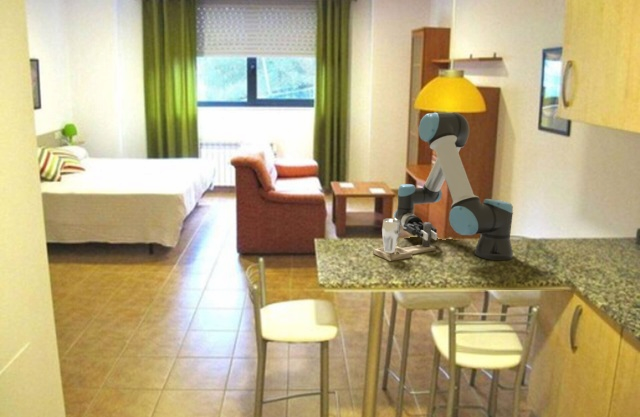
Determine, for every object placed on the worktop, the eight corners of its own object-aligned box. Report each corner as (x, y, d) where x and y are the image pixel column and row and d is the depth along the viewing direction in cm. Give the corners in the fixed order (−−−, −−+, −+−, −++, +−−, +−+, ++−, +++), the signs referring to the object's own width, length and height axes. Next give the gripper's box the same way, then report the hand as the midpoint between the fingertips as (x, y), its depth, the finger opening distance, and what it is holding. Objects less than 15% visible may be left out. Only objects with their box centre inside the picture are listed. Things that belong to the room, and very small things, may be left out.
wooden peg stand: (440, 252, 250) (442, 225, 248) (389, 260, 237) (391, 232, 234) (422, 245, 260) (423, 219, 257) (372, 253, 246) (373, 226, 244)
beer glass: (386, 259, 239) (388, 222, 236) (377, 254, 245) (379, 218, 242) (401, 257, 242) (403, 221, 238) (392, 252, 248) (394, 217, 245)
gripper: (428, 230, 272) (449, 245, 249) (394, 231, 269) (412, 246, 246) (429, 214, 270) (450, 227, 248) (395, 215, 267) (413, 228, 245)
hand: (431, 237), depth 247 cm, fingers closed on wooden peg stand, 3 cm apart
